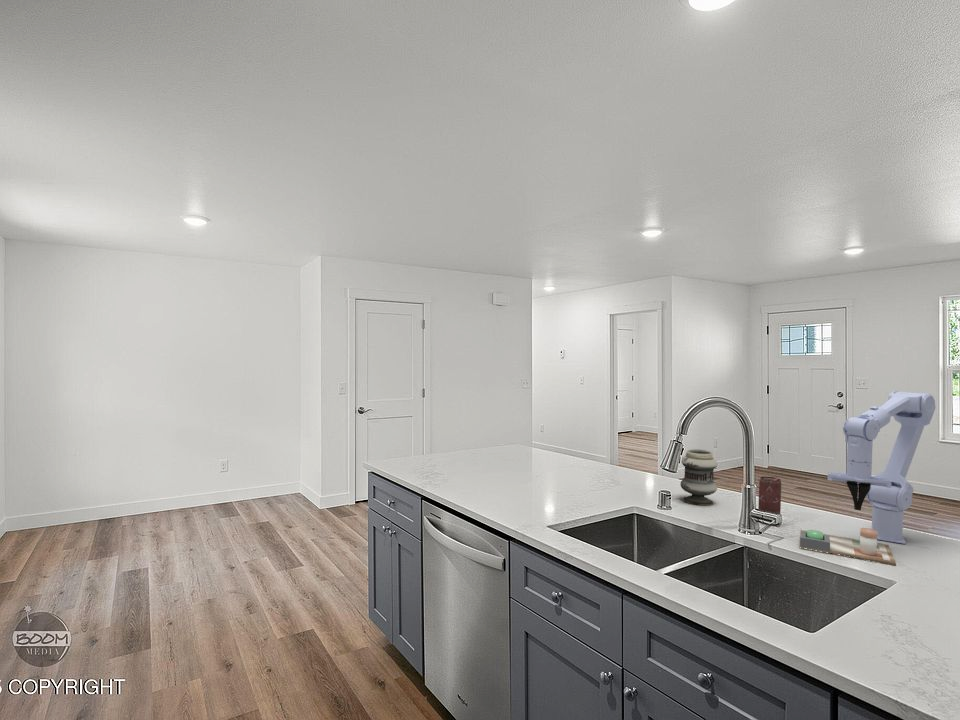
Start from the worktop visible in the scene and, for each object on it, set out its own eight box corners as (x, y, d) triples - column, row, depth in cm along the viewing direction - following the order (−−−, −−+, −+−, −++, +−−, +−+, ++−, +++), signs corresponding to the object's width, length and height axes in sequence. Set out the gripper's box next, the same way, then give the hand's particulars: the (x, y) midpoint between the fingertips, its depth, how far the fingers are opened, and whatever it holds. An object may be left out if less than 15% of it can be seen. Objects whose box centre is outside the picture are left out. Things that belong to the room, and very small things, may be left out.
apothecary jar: (678, 503, 190) (679, 452, 189) (681, 495, 201) (683, 446, 200) (716, 508, 185) (717, 455, 184) (717, 499, 195) (718, 450, 195)
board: (800, 532, 162) (800, 529, 162) (888, 546, 151) (888, 543, 151) (799, 548, 148) (799, 545, 148) (895, 565, 137) (896, 562, 137)
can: (785, 525, 168) (786, 480, 168) (766, 526, 167) (768, 480, 167) (771, 519, 174) (773, 475, 174) (753, 519, 173) (755, 476, 173)
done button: (806, 539, 152) (807, 529, 152) (822, 542, 150) (823, 531, 150) (806, 543, 149) (806, 532, 149) (823, 546, 147) (823, 535, 147)
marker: (859, 549, 146) (860, 527, 146) (876, 552, 144) (877, 530, 144) (859, 553, 143) (860, 530, 143) (876, 556, 141) (877, 533, 141)
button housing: (800, 539, 154) (800, 530, 154) (828, 543, 150) (829, 535, 150) (800, 546, 148) (800, 537, 148) (829, 551, 145) (830, 542, 145)
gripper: (828, 460, 152) (827, 508, 152) (893, 466, 145) (891, 517, 145) (828, 456, 158) (826, 502, 158) (890, 462, 151) (888, 511, 151)
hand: (857, 509), depth 152 cm, fingers closed
